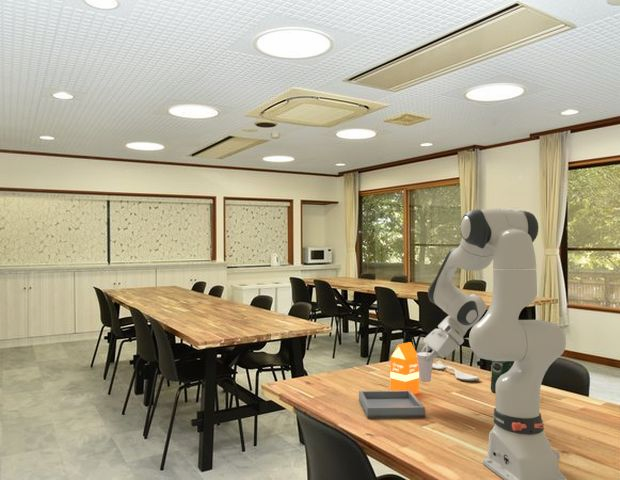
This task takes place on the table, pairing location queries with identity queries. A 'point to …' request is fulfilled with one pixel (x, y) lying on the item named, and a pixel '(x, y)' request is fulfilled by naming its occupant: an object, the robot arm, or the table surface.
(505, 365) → the coffee jar
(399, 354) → the orange juice
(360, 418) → the table surface
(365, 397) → the tray
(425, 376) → the smoothie
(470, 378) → the spoon
